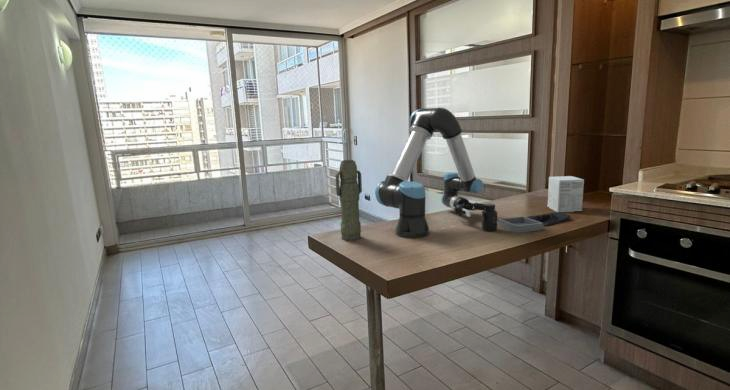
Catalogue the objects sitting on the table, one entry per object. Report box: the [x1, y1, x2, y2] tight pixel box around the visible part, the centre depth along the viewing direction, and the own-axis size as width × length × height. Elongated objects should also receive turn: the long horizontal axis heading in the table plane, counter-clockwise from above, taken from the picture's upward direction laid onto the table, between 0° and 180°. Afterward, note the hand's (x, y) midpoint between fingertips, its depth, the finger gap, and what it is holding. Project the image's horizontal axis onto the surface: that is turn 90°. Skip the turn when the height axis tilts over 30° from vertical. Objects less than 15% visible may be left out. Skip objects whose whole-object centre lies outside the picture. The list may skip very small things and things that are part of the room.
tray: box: [497, 215, 544, 234], centre depth 184 cm, size 14×14×3 cm
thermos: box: [335, 159, 363, 242], centre depth 174 cm, size 9×12×35 cm
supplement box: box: [547, 175, 585, 213], centre depth 214 cm, size 13×13×18 cm
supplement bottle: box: [481, 203, 498, 232], centre depth 182 cm, size 7×7×12 cm
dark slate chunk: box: [526, 211, 572, 227], centre depth 195 cm, size 15×22×5 cm
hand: (482, 212), depth 188 cm, fingers open, 13 cm apart
